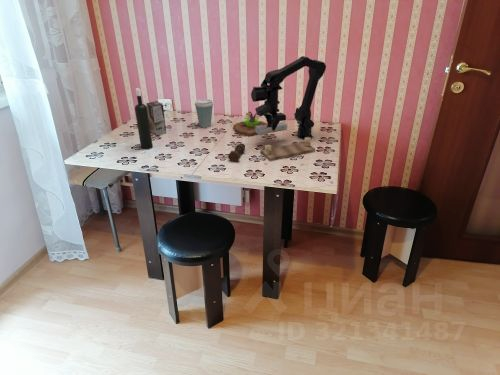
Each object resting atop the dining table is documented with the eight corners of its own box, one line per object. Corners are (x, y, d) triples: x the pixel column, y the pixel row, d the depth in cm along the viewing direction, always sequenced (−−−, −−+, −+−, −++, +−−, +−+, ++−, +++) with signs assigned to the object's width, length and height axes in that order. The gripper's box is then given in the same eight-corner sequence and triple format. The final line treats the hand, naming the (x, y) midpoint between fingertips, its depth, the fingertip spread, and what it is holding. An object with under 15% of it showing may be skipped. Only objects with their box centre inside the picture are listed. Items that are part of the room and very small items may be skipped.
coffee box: (167, 133, 207) (163, 104, 199) (156, 135, 204) (152, 106, 196) (160, 128, 213) (156, 100, 205) (149, 130, 210) (145, 102, 202)
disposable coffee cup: (192, 126, 215) (190, 101, 208) (204, 121, 223) (202, 96, 216) (206, 130, 210) (204, 104, 203) (218, 124, 218) (217, 99, 210)
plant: (226, 129, 212) (226, 110, 206) (252, 121, 223) (252, 103, 218) (249, 139, 199) (249, 119, 193) (276, 130, 210) (276, 111, 204)
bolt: (243, 153, 187) (235, 164, 175) (235, 147, 187) (226, 159, 174) (249, 144, 184) (241, 155, 172) (240, 138, 184) (231, 149, 171)
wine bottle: (146, 144, 193) (137, 86, 178) (155, 146, 191) (146, 87, 176) (138, 148, 189) (128, 89, 174) (147, 150, 187) (138, 90, 172)
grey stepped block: (282, 126, 196) (282, 121, 194) (288, 130, 191) (288, 124, 190) (255, 131, 190) (255, 126, 189) (260, 135, 185) (260, 129, 184)
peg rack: (304, 144, 191) (304, 134, 189) (315, 151, 183) (315, 141, 181) (260, 153, 182) (260, 142, 180) (269, 161, 174) (269, 150, 172)
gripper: (249, 96, 187) (249, 125, 195) (266, 106, 172) (265, 137, 180) (269, 93, 191) (268, 122, 199) (287, 103, 176) (285, 134, 184)
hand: (271, 129), depth 190 cm, fingers closed on grey stepped block, 4 cm apart
